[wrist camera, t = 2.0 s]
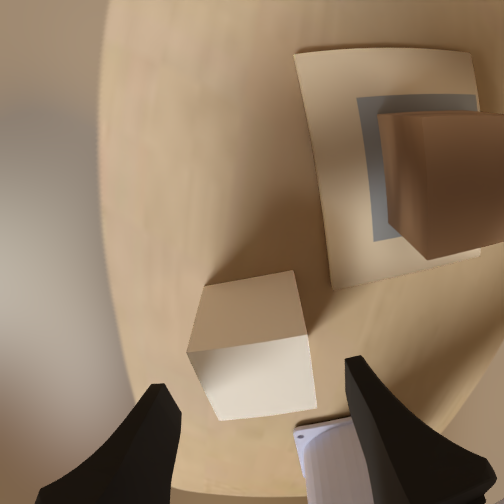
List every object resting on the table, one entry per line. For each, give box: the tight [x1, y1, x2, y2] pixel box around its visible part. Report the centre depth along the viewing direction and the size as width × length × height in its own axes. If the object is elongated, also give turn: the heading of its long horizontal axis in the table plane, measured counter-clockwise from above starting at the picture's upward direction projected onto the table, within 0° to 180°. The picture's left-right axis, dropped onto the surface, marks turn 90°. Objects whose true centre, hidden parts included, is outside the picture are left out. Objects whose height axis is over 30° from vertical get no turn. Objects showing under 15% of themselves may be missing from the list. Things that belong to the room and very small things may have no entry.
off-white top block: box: [186, 270, 317, 421], centre depth 14 cm, size 4×4×5 cm
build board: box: [293, 48, 481, 291], centre depth 13 cm, size 11×9×1 cm
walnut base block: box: [377, 110, 504, 261], centre depth 11 cm, size 5×5×4 cm
